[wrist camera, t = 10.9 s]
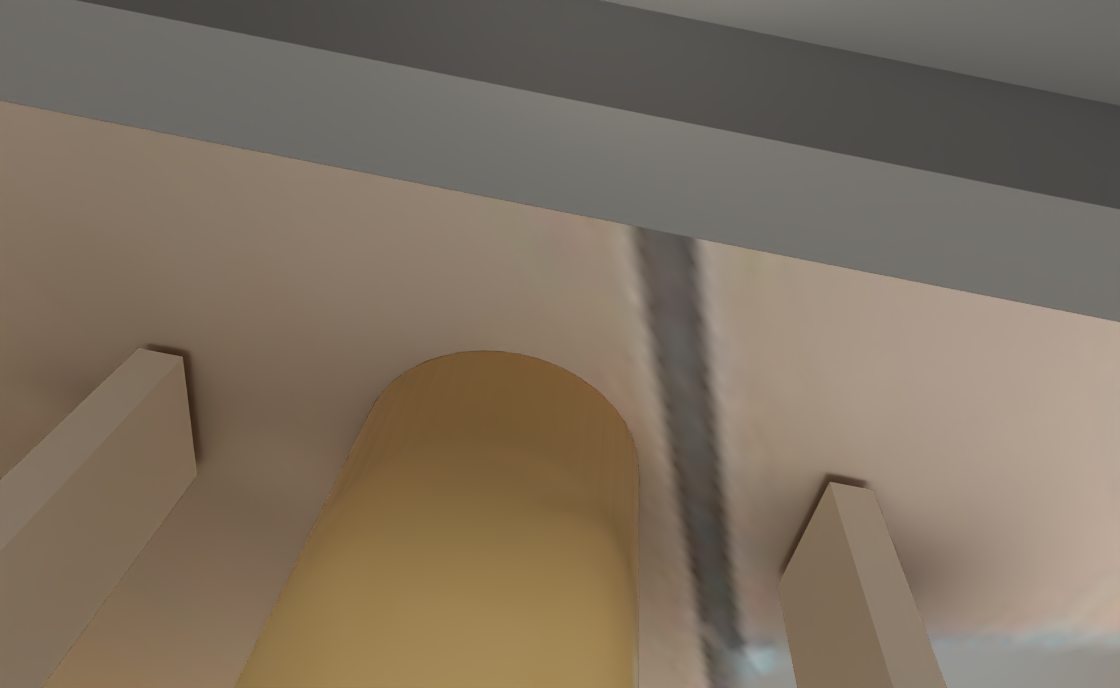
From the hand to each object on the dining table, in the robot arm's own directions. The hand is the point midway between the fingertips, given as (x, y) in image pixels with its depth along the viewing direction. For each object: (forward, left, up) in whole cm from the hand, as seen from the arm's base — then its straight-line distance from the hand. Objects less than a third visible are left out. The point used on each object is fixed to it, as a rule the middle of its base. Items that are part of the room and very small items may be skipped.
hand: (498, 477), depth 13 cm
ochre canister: (0, 0, 0) cm, 0 cm away
